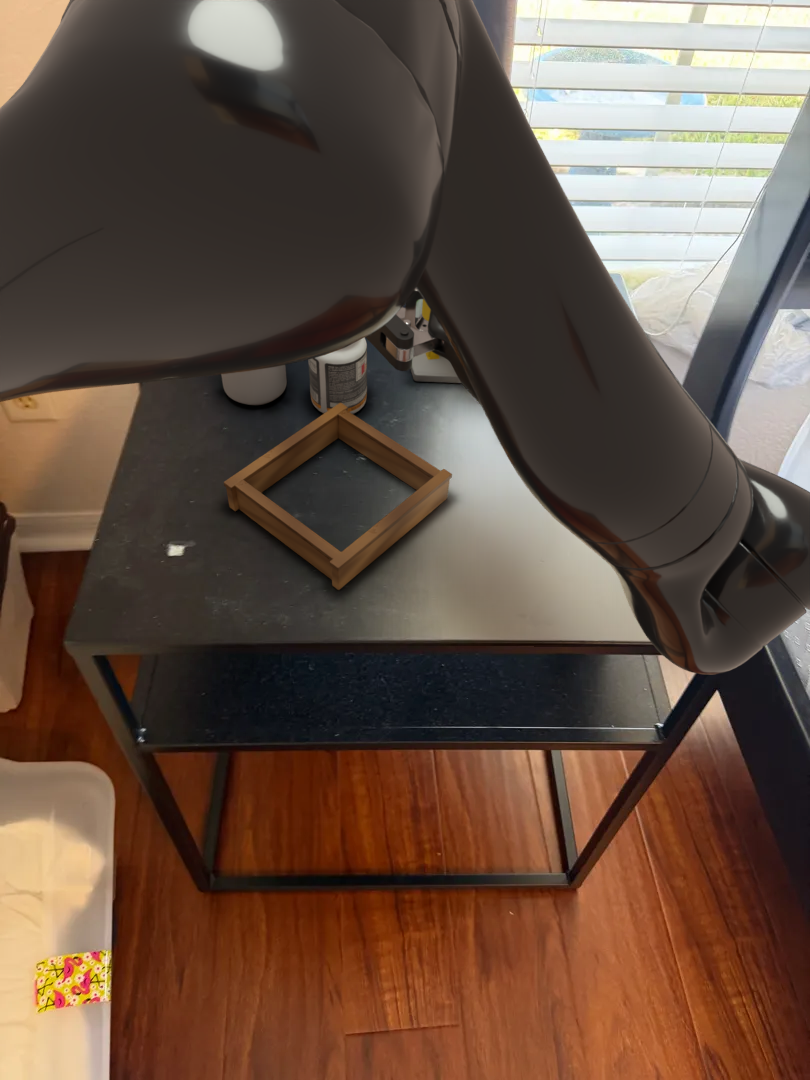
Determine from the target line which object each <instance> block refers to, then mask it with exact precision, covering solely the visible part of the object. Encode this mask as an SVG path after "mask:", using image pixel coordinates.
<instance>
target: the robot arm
mask: <svg viewBox="0 0 810 1080" xmlns="http://www.w3.org/2000/svg"><path fill="white" fill-rule="evenodd" d="M54 31H55V32H54V33H53V34H52V36H51V38H50V40H49V42H48V44H47V45H46V47H45V49H44V51H43V52H42V54H41V56H40V57H39V58H38V60H37V62H36V63H35V65H34V66H33V68H32V70H31V71H30V72H29V74H28V76H27V77H26V79H25V80H24V82H23V83H22V85H21V86H20V87H19V88H18V89H17V90H16V91H15V92H14V93H13V95H11V96H10V97H9V99H8V100H7V101H6V102H5V103H4V104H3V105H2V106H0V403H3V402H9V401H12V400H17V399H22V398H26V397H32V396H37V395H42V394H50V393H58V392H67V391H73V390H74V391H75V390H84V389H93V388H103V387H113V386H123V385H133V384H142V383H154V382H162V381H163V382H164V381H172V380H173V381H174V380H182V379H191V378H201V377H210V376H219V375H221V374H228V373H237V372H245V371H252V370H258V369H265V368H271V367H277V366H282V365H285V366H286V365H291V364H297V363H301V362H305V361H308V360H309V359H312V358H316V357H320V356H323V355H326V354H329V353H332V352H334V351H337V350H340V349H342V348H345V347H347V346H349V345H351V344H353V343H355V342H357V341H359V340H360V339H362V338H364V337H365V339H366V340H367V341H368V342H369V343H370V344H371V345H372V346H373V347H374V348H375V349H376V350H377V351H378V353H379V354H381V356H383V358H384V359H385V360H386V361H387V362H388V363H389V364H390V365H391V366H392V368H394V369H395V370H397V371H399V372H407V371H409V370H411V367H412V359H413V357H416V356H419V355H422V354H424V353H427V352H430V351H432V352H433V353H435V354H437V355H439V356H442V357H444V358H446V359H447V360H448V361H449V362H450V363H451V365H452V367H453V369H454V371H455V373H456V374H457V376H458V378H459V380H460V381H461V383H460V384H462V385H463V386H464V388H465V389H466V390H467V391H468V392H469V393H470V394H471V395H472V397H473V398H474V400H476V401H477V402H478V404H480V406H481V408H482V410H483V413H484V414H485V416H486V418H487V421H488V422H489V424H490V426H491V429H492V431H493V433H494V434H495V436H496V438H497V440H498V442H499V444H500V447H502V449H503V451H504V453H505V455H506V457H507V459H508V460H509V462H510V464H511V465H512V467H513V469H514V471H515V472H516V474H517V475H518V477H519V479H520V480H521V481H522V483H523V484H524V486H525V487H526V488H527V490H528V491H529V492H530V494H531V495H532V496H533V497H534V498H535V499H536V501H537V502H538V503H539V504H540V505H541V506H542V508H544V509H545V511H546V512H547V513H548V514H549V515H550V516H551V517H552V518H553V519H554V520H556V521H557V522H558V523H559V524H560V525H561V526H562V527H564V528H565V529H566V530H567V531H569V532H570V533H571V534H572V535H573V536H575V537H576V538H577V539H578V540H579V541H581V542H582V543H583V544H584V545H586V546H587V547H588V548H589V549H590V550H592V552H594V553H595V554H597V555H598V556H599V557H600V558H601V559H602V560H603V561H604V562H606V564H608V565H609V566H610V568H612V570H613V571H614V572H615V573H616V576H617V578H618V580H619V582H620V585H621V588H622V590H623V594H624V596H625V598H626V602H627V603H628V606H629V608H630V610H631V612H632V614H633V616H634V618H635V620H636V621H637V622H636V623H637V624H638V625H639V627H640V629H641V630H642V632H643V633H644V635H645V636H646V638H647V639H648V641H649V642H650V643H651V644H652V646H654V648H655V649H656V650H657V651H658V652H659V653H660V654H661V655H662V656H663V657H664V658H665V659H667V661H669V662H670V663H672V664H673V665H675V666H676V667H678V668H680V669H681V670H684V671H687V672H689V673H693V674H698V675H720V674H724V673H728V672H730V671H732V670H735V669H737V668H739V667H741V666H742V665H743V664H745V663H746V662H748V661H749V660H751V658H753V657H754V656H755V655H757V653H759V652H760V651H761V650H762V649H763V648H764V647H766V646H767V645H768V644H770V643H771V642H773V640H775V639H776V638H777V637H779V635H781V634H783V632H784V631H785V630H788V628H790V627H791V626H792V625H793V624H794V623H796V622H797V621H798V620H799V619H801V618H802V617H803V616H804V615H805V614H807V610H809V611H810V491H809V490H807V489H805V488H804V487H802V486H800V485H798V484H796V483H794V482H792V481H791V480H789V479H787V478H784V477H782V476H780V475H777V474H776V473H773V472H772V471H769V470H767V469H765V468H762V467H760V466H758V465H755V464H752V463H751V462H748V461H746V460H744V459H741V458H740V457H738V456H737V454H736V453H735V452H734V450H733V449H732V448H731V446H730V445H729V443H727V442H726V440H725V439H724V437H723V436H722V434H721V433H720V432H719V431H718V430H717V428H716V427H715V425H714V423H712V421H711V420H710V419H709V417H708V416H707V415H706V414H705V412H704V411H703V410H702V408H701V407H700V406H699V405H698V403H697V402H696V401H695V400H694V399H693V397H692V396H691V395H690V393H689V392H688V391H687V389H686V388H685V387H684V386H683V385H682V383H681V382H680V381H679V379H678V377H676V375H675V374H674V372H673V371H672V369H671V368H670V367H669V365H668V364H667V362H666V361H665V360H664V358H663V357H662V355H661V353H660V352H659V351H658V349H657V348H656V346H655V344H654V343H653V341H652V340H651V339H650V337H649V336H648V334H647V333H646V331H645V329H644V327H642V325H641V323H640V322H639V320H638V318H637V317H636V316H635V314H634V312H633V311H632V309H631V307H630V306H629V304H628V302H627V301H626V299H625V298H624V296H623V294H622V292H621V291H620V289H619V287H618V286H617V284H616V282H615V281H614V279H613V278H612V275H611V274H610V272H609V270H608V269H607V267H606V265H605V263H604V261H603V260H602V259H601V256H600V254H599V253H598V252H597V250H596V248H595V246H594V245H593V243H592V240H591V239H590V237H589V235H588V233H587V232H586V230H585V227H584V226H583V224H582V222H581V220H580V218H579V217H578V214H577V212H576V211H575V209H574V207H573V205H572V203H571V201H570V199H569V198H568V196H567V194H566V192H565V189H564V188H563V186H562V184H561V182H560V181H559V179H558V177H557V175H556V173H555V171H554V169H553V168H552V166H551V163H550V162H549V160H548V158H547V156H546V154H545V152H544V150H543V148H542V147H541V144H540V143H539V141H538V138H537V137H536V135H535V133H534V131H533V129H532V126H531V125H530V123H529V121H528V119H527V117H526V115H525V112H524V110H523V108H522V105H521V103H520V101H519V99H518V97H517V94H516V93H515V91H514V88H513V86H512V84H511V82H510V79H509V77H508V75H507V73H506V71H505V68H504V67H503V64H502V62H501V59H500V58H499V57H500V56H499V55H498V53H497V50H496V48H495V46H494V44H493V42H492V39H491V38H490V35H489V32H488V30H487V28H486V26H485V24H484V22H483V20H482V18H481V15H480V13H479V11H478V9H477V7H476V5H475V3H474V0H69V1H68V3H67V5H66V7H65V9H64V12H63V14H62V15H61V19H60V22H59V24H58V26H57V28H56V29H55V30H54ZM423 299H424V300H425V302H426V304H427V305H428V307H429V308H430V316H429V321H427V320H425V319H424V318H423V316H422V306H423ZM404 306H405V307H404Z"/></svg>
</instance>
